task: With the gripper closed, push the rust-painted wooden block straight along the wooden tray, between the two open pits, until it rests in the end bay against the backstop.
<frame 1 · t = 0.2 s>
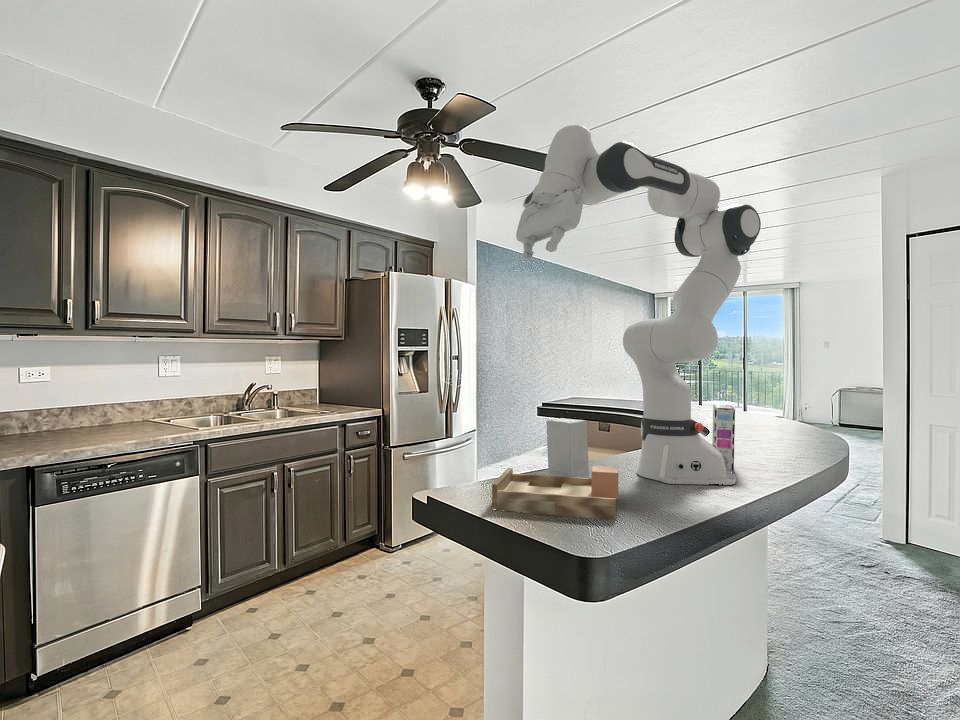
hand: (538, 254, 112), 52 cm above the countertop, tool tilted 20°, fingers open, 8 cm apart
skincare box: (567, 483, 121), on the countertop
block: (605, 494, 102), point 2 cm above the countertop, touching wooden tray
wooden tray: (559, 504, 104), on the countertop
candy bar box: (723, 469, 136), on the countertop
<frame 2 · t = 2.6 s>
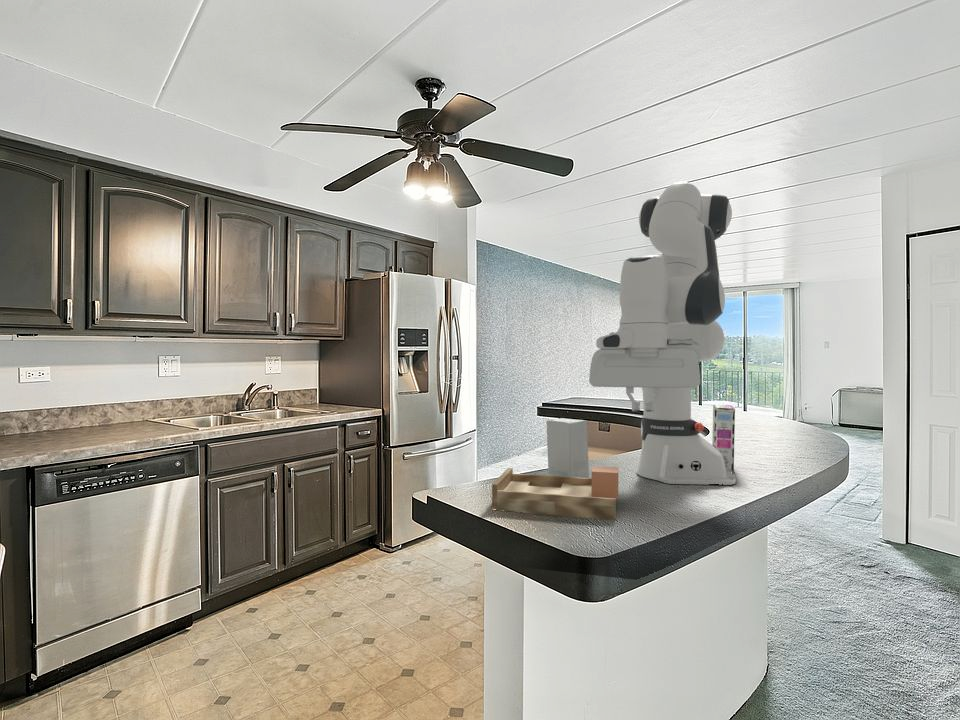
hand: (642, 411, 100), 19 cm above the countertop, tool pointing down, fingers closed
nothing on the countertop moved.
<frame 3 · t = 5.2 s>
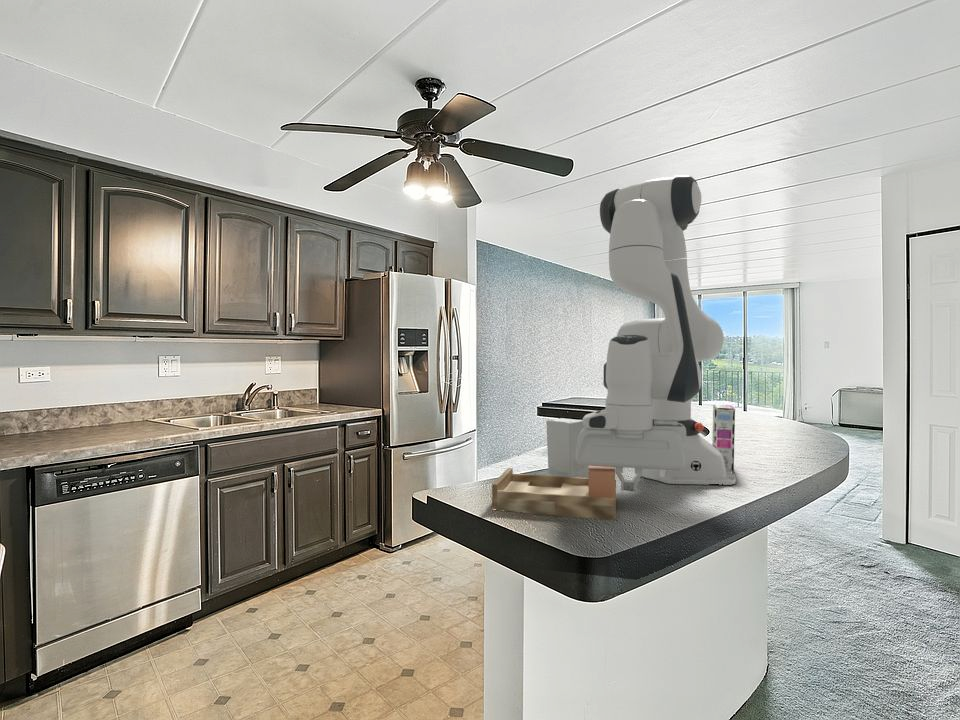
hand: (628, 490, 100), 4 cm above the countertop, tool pointing down, fingers closed
block: (602, 494, 102), point 3 cm above the countertop, touching gripper
everything else where it was.
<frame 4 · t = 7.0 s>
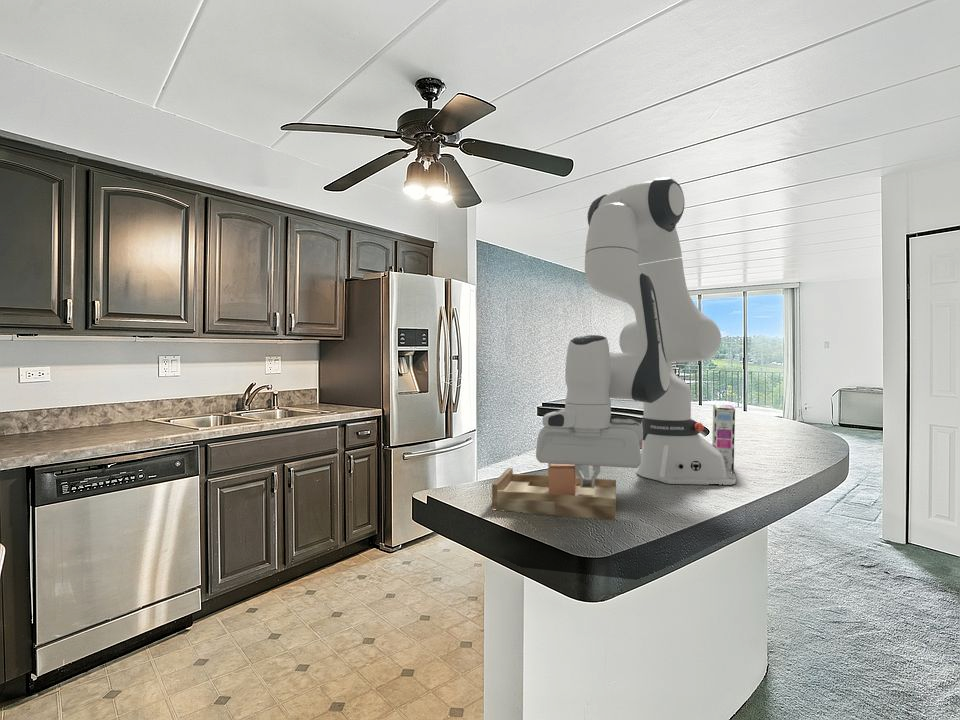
hand: (587, 487, 102), 4 cm above the countertop, tool pointing down, fingers closed
block: (563, 491, 104), point 3 cm above the countertop, touching gripper, wooden tray
everything else where it was.
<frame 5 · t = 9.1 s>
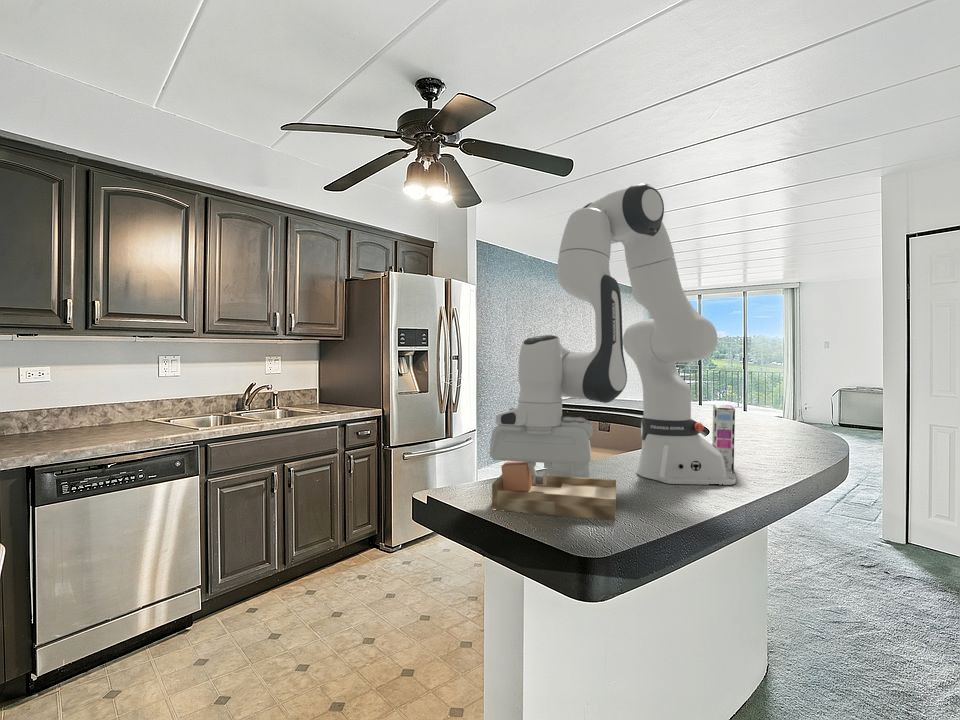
hand: (539, 484, 105), 4 cm above the countertop, tool pointing down, fingers closed
block: (518, 487, 106), point 3 cm above the countertop, tilted 6°, touching gripper, wooden tray
everything else where it was.
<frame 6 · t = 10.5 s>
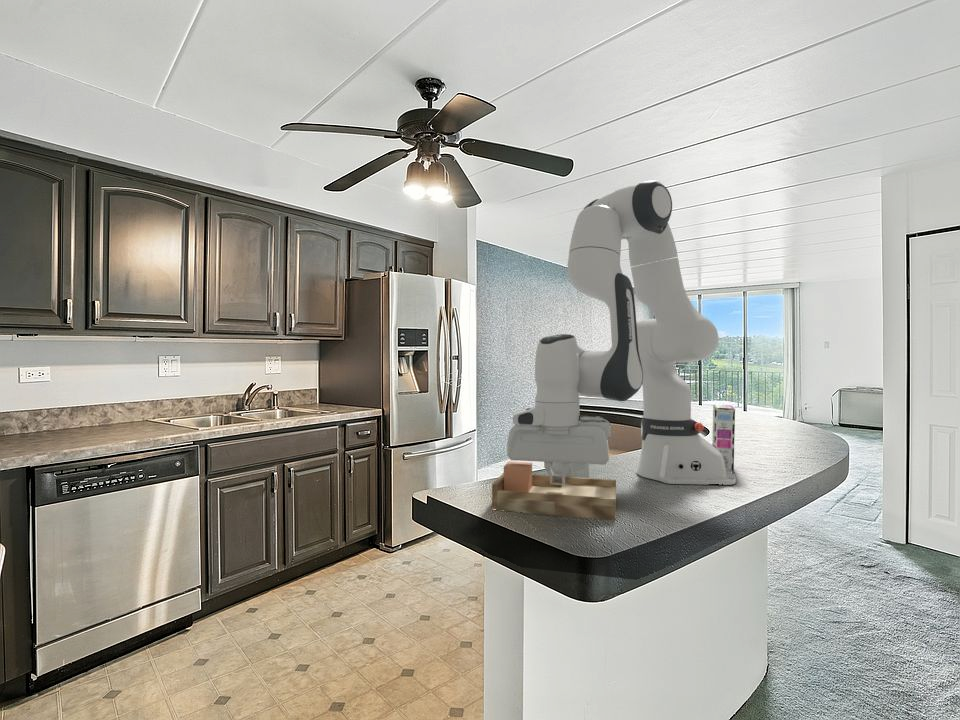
hand: (557, 483, 104), 4 cm above the countertop, tool pointing down, fingers closed
block: (518, 489, 106), point 2 cm above the countertop, touching wooden tray
everything else where it was.
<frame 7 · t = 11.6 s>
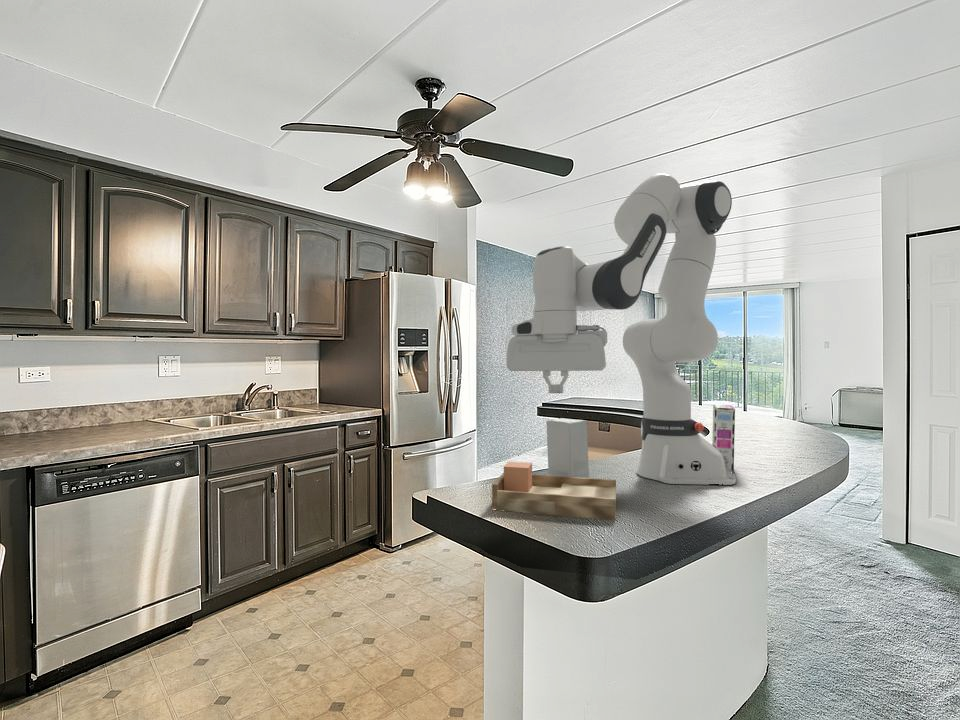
hand: (556, 393, 107), 22 cm above the countertop, tool pointing down, fingers closed
nothing on the countertop moved.
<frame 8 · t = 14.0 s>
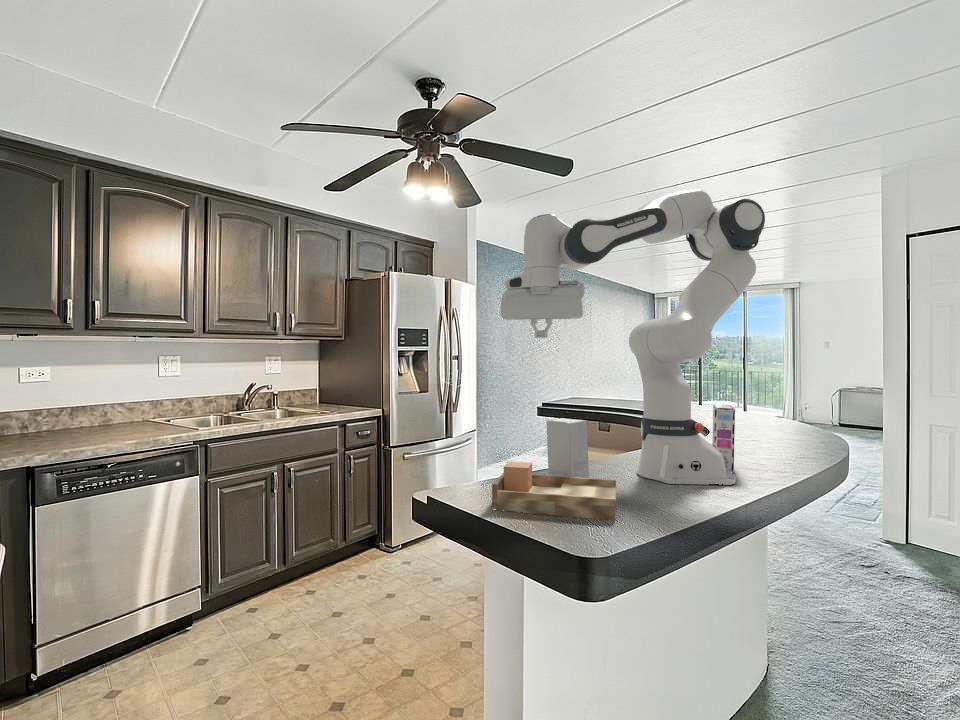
hand: (541, 337, 128), 34 cm above the countertop, tool pointing down, fingers closed
nothing on the countertop moved.
at the end: block inside the target area (0.7 cm from its centre), point 2.5 cm above the countertop; block tilted 0° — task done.
